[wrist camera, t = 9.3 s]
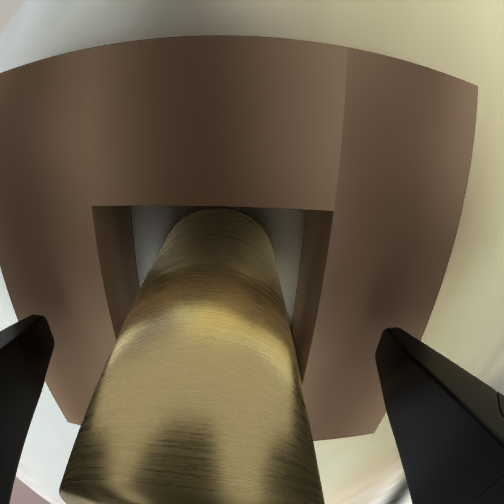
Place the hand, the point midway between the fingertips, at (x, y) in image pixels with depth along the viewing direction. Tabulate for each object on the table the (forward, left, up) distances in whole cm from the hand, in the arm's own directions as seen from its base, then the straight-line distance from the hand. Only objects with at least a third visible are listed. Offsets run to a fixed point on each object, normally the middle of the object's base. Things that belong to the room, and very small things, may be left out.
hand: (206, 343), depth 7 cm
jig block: (0, 0, -4) cm, 4 cm away
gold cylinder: (0, 0, -4) cm, 4 cm away
